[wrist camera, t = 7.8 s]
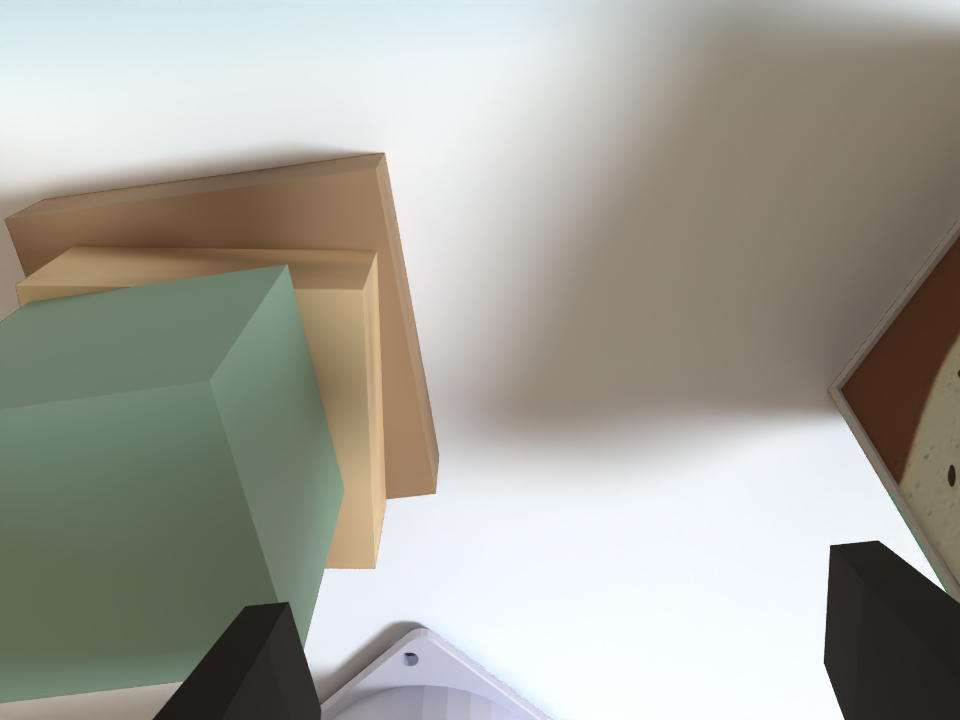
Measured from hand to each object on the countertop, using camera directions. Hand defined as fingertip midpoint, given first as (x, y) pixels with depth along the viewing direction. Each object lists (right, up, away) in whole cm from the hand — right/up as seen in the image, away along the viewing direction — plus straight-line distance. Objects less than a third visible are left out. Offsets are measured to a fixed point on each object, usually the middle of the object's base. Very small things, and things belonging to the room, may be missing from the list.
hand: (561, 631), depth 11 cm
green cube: (-7, +3, +5) cm, 9 cm away
